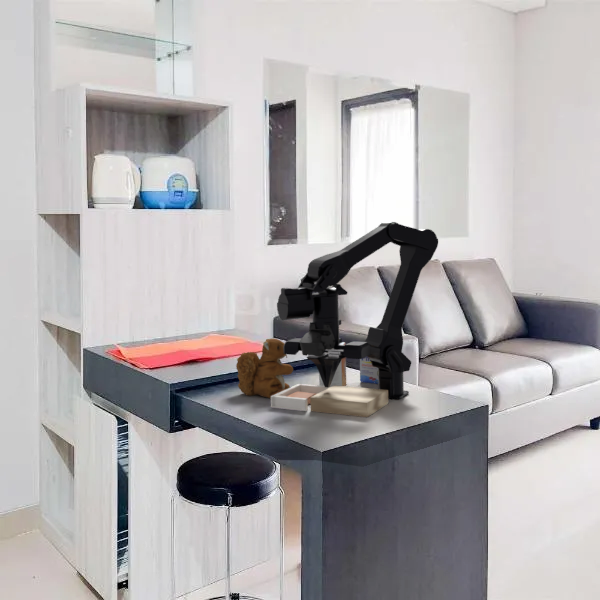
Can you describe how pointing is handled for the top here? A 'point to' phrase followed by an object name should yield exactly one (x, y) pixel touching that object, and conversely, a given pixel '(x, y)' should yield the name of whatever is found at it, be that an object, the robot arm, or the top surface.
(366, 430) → the top surface
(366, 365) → the medicine box
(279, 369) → the stuffed squirrel
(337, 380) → the small box
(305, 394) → the tile
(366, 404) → the plate
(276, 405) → the box
